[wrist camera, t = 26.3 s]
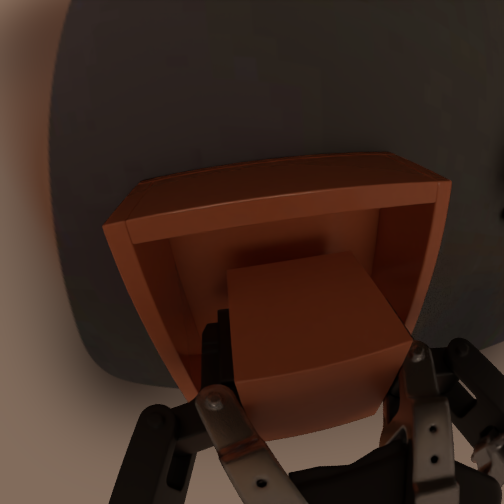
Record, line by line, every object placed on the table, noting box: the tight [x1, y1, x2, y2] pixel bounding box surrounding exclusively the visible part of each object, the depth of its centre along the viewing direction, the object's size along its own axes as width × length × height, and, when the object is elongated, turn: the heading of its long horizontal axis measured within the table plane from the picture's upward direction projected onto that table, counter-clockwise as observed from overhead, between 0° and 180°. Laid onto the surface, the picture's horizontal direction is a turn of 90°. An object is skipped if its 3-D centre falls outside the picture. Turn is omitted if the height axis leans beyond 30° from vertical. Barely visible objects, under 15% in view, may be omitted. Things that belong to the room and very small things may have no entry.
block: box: [227, 251, 413, 441], centre depth 10 cm, size 5×5×5 cm
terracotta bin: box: [102, 152, 452, 402], centre depth 12 cm, size 12×12×5 cm
